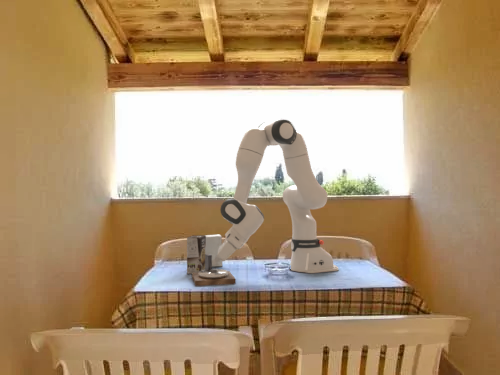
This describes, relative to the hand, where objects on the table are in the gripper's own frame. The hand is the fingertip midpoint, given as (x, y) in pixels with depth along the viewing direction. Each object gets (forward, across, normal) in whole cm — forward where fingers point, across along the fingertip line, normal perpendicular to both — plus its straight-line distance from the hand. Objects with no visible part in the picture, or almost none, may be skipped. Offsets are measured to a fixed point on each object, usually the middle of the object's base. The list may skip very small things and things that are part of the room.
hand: (212, 263), depth 188 cm
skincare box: (+5, -28, +4) cm, 29 cm away
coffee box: (+10, -15, -1) cm, 18 cm away
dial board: (+5, +3, +5) cm, 7 cm away
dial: (+3, +3, +3) cm, 5 cm away
